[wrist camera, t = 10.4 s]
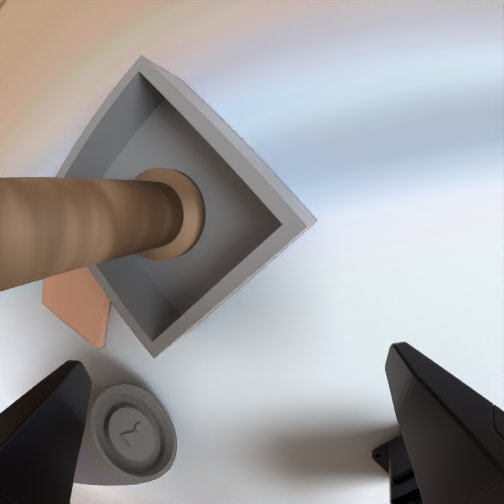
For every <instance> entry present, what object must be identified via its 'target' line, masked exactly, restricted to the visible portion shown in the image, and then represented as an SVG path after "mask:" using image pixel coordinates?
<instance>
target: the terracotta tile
mask: <svg viewBox="0 0 504 504" xmlns="http://www.w3.org/2000/svg"><path fill="white" fill-rule="evenodd" d="M110 302H111V301H110V300H109V299H108V297H107V296H106V294H105V293H104V291H103V290H102V288H101V287H100V286H99V284H98V283H97V281H96V280H95V278H94V277H93V275H92V273H91V272H90V270H89V269H88V267H84V268H80V269H76V270H73V271H69V272H66V273H62V274H58V275H55V276H51V277H48V278H44V282H43V304H44V305H45V306H46V307H47V308H48V309H49V310H51V311H52V312H53V313H54V314H55V315H56V316H58V317H59V318H60V319H61V320H62V321H63V322H65V323H66V324H67V325H68V326H69V327H71V328H72V329H73V330H74V331H76V332H77V333H78V334H79V335H81V336H82V337H83V338H84V339H86V340H87V341H88V342H90V343H91V344H92V345H94V346H95V347H96V348H98V349H101V348H102V347H104V345H105V337H106V329H107V322H108V315H109V308H110Z"/></svg>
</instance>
